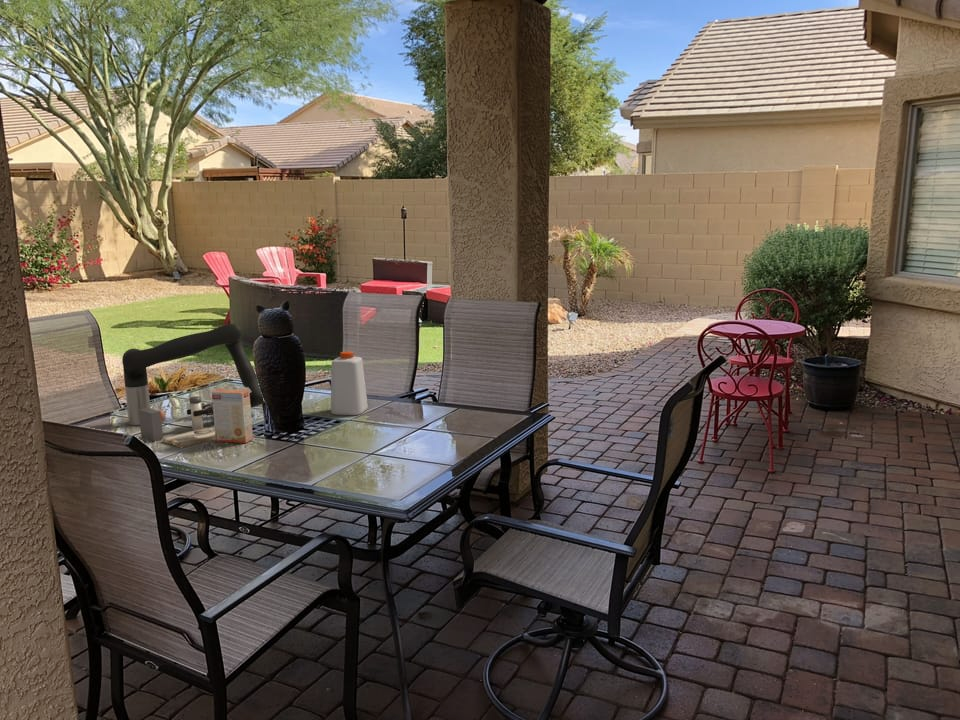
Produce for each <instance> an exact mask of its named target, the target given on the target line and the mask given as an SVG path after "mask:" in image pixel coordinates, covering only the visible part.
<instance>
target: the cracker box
mask: <svg viewBox="0 0 960 720" xmlns="http://www.w3.org/2000/svg"><path fill="white" fill-rule="evenodd" d="M211 399H212V402H213V414H214V415H213V420H214V422H213V424H214V429H215V437H216V439H215V442H217V443H218V442H220V443H222V442H223V443H236V444H237V443H238V444H246V443H249V442H251V441H253V440H254V433H253V423H252V422H253V420H252V419H253V418H252V408H251V405H250V389H249V390H248V389H247V390H246V389H244V390H243V389H222V388H219V389H216V390H214V391H212V392H211ZM212 402H211V403H212Z"/></svg>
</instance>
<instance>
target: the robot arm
mask: <svg viewBox="0 0 960 720" xmlns="http://www.w3.org/2000/svg"><path fill="white" fill-rule="evenodd" d="M242 333H243V332H242V329H241V327H240V326H239V325H237V324H235V323H227V324H223V325H221V326H219V327H217V328H213V329H210V330H207V331H202V332H196V333H192V334H186V335H184V336H179V337H175V338H172V339H170V340H166V341H165V342H163V343H161V344H159V345H156V346H153V347H151V348H145V349H138V348H129V349H127V350H126V351H125V352H124V353H123V355H122V358H121V359H122V360H121V363H122V368H123V379H124V388H125V389H124V390H125V397H126V399H125V400H126V409H127V411H126V412H127V419H128V424H129V425H130V426H140V419H139V410H140V409H145V408H150V409H151V402H150V401H151V400H150V390H149V382H148V381H149V380H148V373H147V370H148V369H147V368H148V367H152V366H154V365H157V364H161V363H165V362H170V361H174V360H175V361H176V360H179V359H183V358H186V357H191V356H194V355H196V354H199V353H202V352H204V351H206V350H208V349H210V348H213V347H215V346H216V347H217V346H222V345H225V347H226V349H227V350H228V352H229V353H230V356H231V358H232V360H233V364H234V366H235V368H236V371H237V373H238V376H239V379H240V381H241V383H242V385H243V387H244V388H248V389H249V393H250V405H251V409H252V408H255V407H258V406H261V405H263V404H264V403H263V397H262V394H261V391H260V388H259V385H258V381H257V379H258V377H257V374H256V372H255V369H254V367H253V364H252V363H251V361H250V359H249V357H248V356H247V354H246V351H245V349H244V346H243V340H242ZM201 407H202V410H198V411H194V412H193V416H195V417H196V416H200V415H202V416H206V417H207V416H214V414H213V402H211V403H206V404H205V403H201ZM186 415H187V416H191V408H188V409H187V410H186Z"/></svg>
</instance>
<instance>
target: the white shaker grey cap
mask: <svg viewBox="0 0 960 720" xmlns="http://www.w3.org/2000/svg"><path fill="white" fill-rule="evenodd" d="M201 404H202V397H201V396H198V395H197V396H191V397H189V407H190V408H189V409H191V415H190V416H191V418H190V419H191V427H192V431H193V430H198V429H201V428H204V422H203V421H204V419H203V414H202V415H200V416H196V417H195V416H193V412H194V411H198V410H202V407H201Z"/></svg>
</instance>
